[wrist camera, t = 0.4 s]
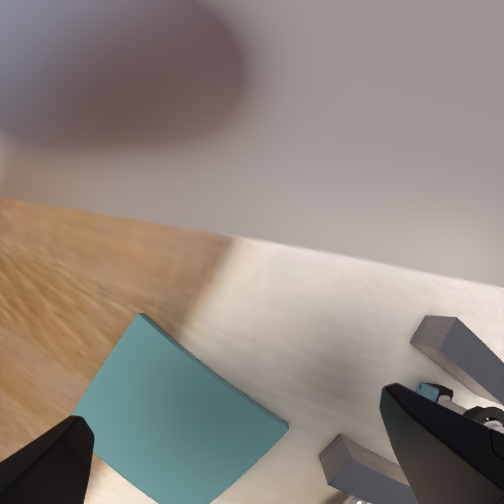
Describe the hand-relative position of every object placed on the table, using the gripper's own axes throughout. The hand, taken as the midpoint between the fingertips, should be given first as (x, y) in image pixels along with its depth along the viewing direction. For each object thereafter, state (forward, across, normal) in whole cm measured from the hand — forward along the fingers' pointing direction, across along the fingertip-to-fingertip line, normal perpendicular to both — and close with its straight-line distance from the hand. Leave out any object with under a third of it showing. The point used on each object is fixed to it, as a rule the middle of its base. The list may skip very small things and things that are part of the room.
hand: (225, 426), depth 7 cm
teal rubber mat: (+10, +8, +12) cm, 17 cm away
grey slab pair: (+8, -11, +15) cm, 20 cm away
